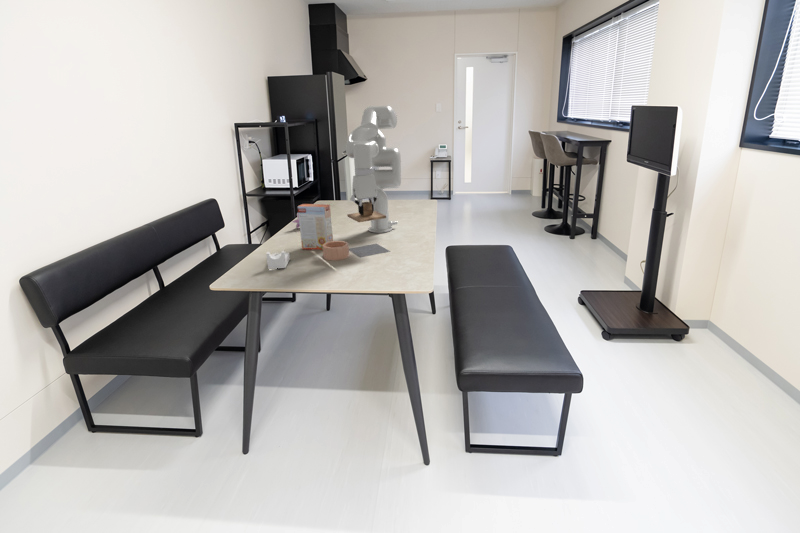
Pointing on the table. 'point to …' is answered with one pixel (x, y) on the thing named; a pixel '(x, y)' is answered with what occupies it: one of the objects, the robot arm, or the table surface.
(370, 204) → the lid
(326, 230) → the cracker box
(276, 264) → the bracket
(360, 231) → the table surface
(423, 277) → the table surface
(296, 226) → the lily
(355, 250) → the mat
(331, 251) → the bowl
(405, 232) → the table surface
